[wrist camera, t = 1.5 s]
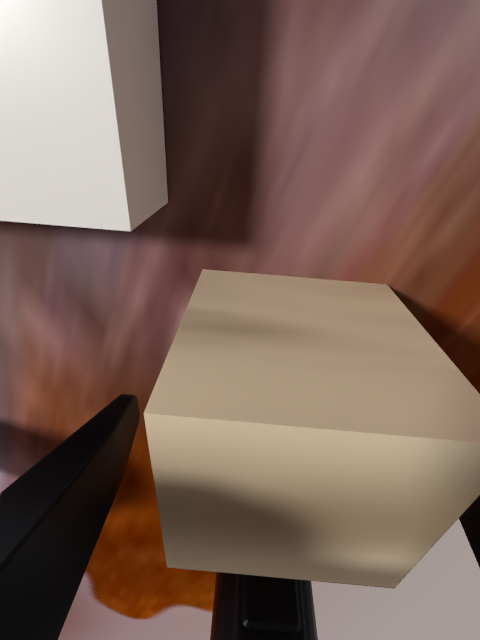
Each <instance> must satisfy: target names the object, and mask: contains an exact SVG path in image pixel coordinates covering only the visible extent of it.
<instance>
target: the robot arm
mask: <svg viewBox="0 0 480 640" xmlns="http://www.w3.org/2000/svg"><path fill="white" fill-rule="evenodd" d="M138 423H139V408H138V402H137V397H136V396H135V395H129V394H122V395H120V396H118V397H117V398H116V399H115V400H113V401H112V402H111V403H110V404H109V405H107V406H106V407H105V408H104V409H102V410H101V411H100V412H99V413H98V414H96V415H95V416H94V417H93V418H91V419H90V420H89V421H88V422H87V423H85V424H84V425H83V426H82V427H80V428H79V429H78V430H77V431H76V432H74V433H73V434H72V435H71V436H69V437H68V438H67V439H66V440H65V441H63V442H62V443H61V444H60V445H58V446H57V447H56V448H55V449H54V450H52V451H51V452H50V453H49V454H47V455H46V456H45V457H44V458H43V459H41V460H40V461H39V462H38V463H37V464H35V465H34V466H33V467H32V468H30V469H29V470H28V471H27V472H26V473H24V474H23V475H22V476H21V477H19V478H18V479H17V480H16V481H15V482H13V483H12V484H11V485H10V486H8V487H7V488H6V489H5V490H4V491H2V492H1V495H0V640H58V637H59V635H60V632H61V630H62V627H63V625H64V622H65V620H66V617H67V615H68V612H69V610H70V607H71V605H72V602H73V600H74V597H75V595H76V593H77V590H78V587H79V585H80V583H81V580H82V578H83V575H84V573H85V570H86V568H87V565H88V563H89V560H90V558H91V555H92V553H93V550H94V548H95V545H96V543H97V540H98V538H99V535H100V533H101V530H102V528H103V525H104V523H105V520H106V518H107V515H108V513H109V510H110V508H111V505H112V503H113V500H114V498H115V495H116V493H117V490H118V488H119V485H120V483H121V480H122V477H123V475H124V472H125V469H126V465H127V462H128V458H129V455H130V451H131V448H132V444H133V440H134V437H135V433H136V430H137V426H138ZM459 519H460V522H461V524H462V527H463V529H464V531H465V534H466V536H467V538H468V541H469V543H470V546H471V548H472V550H473V553H474V555H475V557H476V560H477V562H478V565H479V567H480V495H479V496H478V497H477V499H476V500H475V501H474V502H473V503H472V504H471V505H470V506H469V507H468V508H467V509H466V511H465V512H464V513H463V514H462V515H461V516H460V517H459ZM210 640H318V638H317V629H316V621H315V612H314V603H313V596H312V587H311V581H309V580H298V579H288V578H277V577H266V576H255V575H245V574H234V573H223V572H217V573H216V583H215V594H214V604H213V615H212V626H211V636H210Z"/></svg>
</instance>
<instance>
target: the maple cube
mask: <svg viewBox="0 0 480 640" xmlns="http://www.w3.org/2000/svg"><path fill="white" fill-rule="evenodd" d="M144 419H145V425H146V432H147V438H148V445H149V451H150V458H151V465H152V471H153V478H154V484H155V491H156V497H157V504H158V510H159V517H160V523H161V530H162V536H163V543H164V550H165V556H166V563H167V567H169V568H180V569H191V570H202V571H212V572H223V573H234V574H245V575H255V576H266V577H277V578H288V579H298V580H309V581H320V582H331V583H341V584H353V585H363V586H374V587H385V588H395V587H396V586H397V585H398V584H399V583H400V582H401V580H402V579H403V578H404V577H405V576H406V575H407V574H408V573H409V572H410V571H411V570H412V568H413V567H414V566H415V565H416V564H417V563H418V562H419V561H420V560H421V559H422V557H423V556H424V555H425V554H426V553H427V552H428V551H429V550H430V549H431V548H432V547H433V545H434V544H435V543H436V542H437V541H438V540H439V539H440V538H441V537H442V536H443V535H444V533H445V532H446V531H447V530H448V529H449V528H450V527H451V526H452V525H453V524H454V523H455V521H456V520H457V519H458V518H459V517H460V516H461V515H462V514H463V513H464V512H465V511H466V509H467V508H468V507H469V506H470V505H471V504H472V503H473V502H474V501H475V500H476V499H477V497H478V496H479V495H480V394H479V393H478V392H477V390H476V389H475V388H474V387H473V386H472V385H471V383H470V382H469V381H468V380H467V379H466V377H465V376H464V375H463V374H462V373H461V371H460V370H459V369H458V368H457V367H456V366H455V364H454V363H453V362H452V361H451V360H450V358H449V357H448V356H447V355H446V354H445V353H444V351H443V350H442V349H441V348H440V347H439V345H438V344H437V343H436V342H435V341H434V340H433V338H432V337H431V336H430V335H429V334H428V332H427V331H426V330H425V329H424V328H423V326H422V325H421V324H420V323H419V322H418V321H417V319H416V318H415V317H414V316H413V315H412V313H411V312H410V311H409V310H408V309H407V308H406V306H405V305H404V304H403V303H402V302H401V300H400V299H399V298H398V297H397V296H396V295H395V293H394V292H393V291H392V290H391V289H390V287H389V286H388V285H386V284H374V283H362V282H350V281H338V280H325V279H313V278H301V277H289V276H277V275H265V274H253V273H241V272H228V271H216V270H204V269H203V270H202V272H201V275H200V277H199V280H198V282H197V284H196V287H195V289H194V292H193V294H192V297H191V299H190V301H189V304H188V306H187V309H186V311H185V314H184V316H183V319H182V321H181V323H180V326H179V328H178V331H177V333H176V336H175V338H174V340H173V343H172V345H171V348H170V350H169V353H168V355H167V358H166V360H165V362H164V365H163V367H162V370H161V372H160V375H159V377H158V379H157V382H156V384H155V387H154V389H153V392H152V394H151V396H150V399H149V401H148V404H147V406H146V409H145V411H144Z"/></svg>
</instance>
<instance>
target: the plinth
mask: <svg viewBox="0 0 480 640" xmlns="http://www.w3.org/2000/svg"><path fill="white" fill-rule="evenodd" d="M167 203H168V192H167V174H166V157H165V139H164V122H163V104H162V87H161V69H160V52H159V34H158V17H157V0H0V221H9V222H21V223H34V224H46V225H58V226H70V227H82V228H94V229H106V230H118V231H132V230H133V229H135V228H136V227H137V226H139V225H140V224H141V223H142V222H144V221H145V220H146V219H148V218H149V217H150V216H151V215H153V214H154V213H155V212H156V211H158V210H159V209H160V208H162V207H163V206H164V205H165V204H167Z"/></svg>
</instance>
